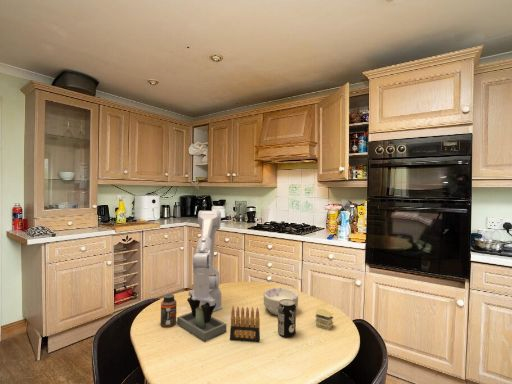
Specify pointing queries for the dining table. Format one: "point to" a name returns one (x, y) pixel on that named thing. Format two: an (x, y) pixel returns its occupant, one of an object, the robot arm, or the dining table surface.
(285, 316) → the beverage can
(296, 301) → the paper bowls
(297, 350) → the dining table surface
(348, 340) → the dining table surface
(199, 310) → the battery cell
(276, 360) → the dining table surface
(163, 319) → the supplement bottle
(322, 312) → the layered tan block
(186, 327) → the trough
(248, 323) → the ammunition clip
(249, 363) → the dining table surface
